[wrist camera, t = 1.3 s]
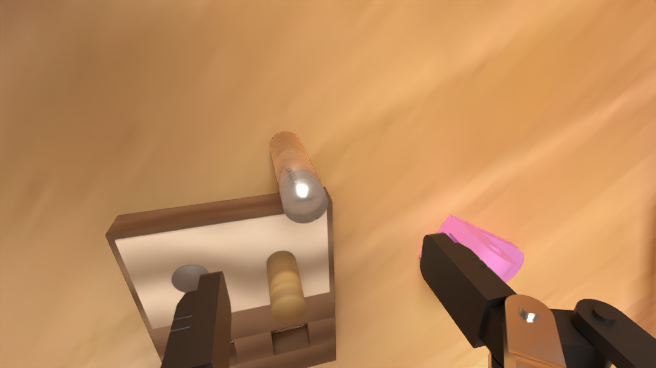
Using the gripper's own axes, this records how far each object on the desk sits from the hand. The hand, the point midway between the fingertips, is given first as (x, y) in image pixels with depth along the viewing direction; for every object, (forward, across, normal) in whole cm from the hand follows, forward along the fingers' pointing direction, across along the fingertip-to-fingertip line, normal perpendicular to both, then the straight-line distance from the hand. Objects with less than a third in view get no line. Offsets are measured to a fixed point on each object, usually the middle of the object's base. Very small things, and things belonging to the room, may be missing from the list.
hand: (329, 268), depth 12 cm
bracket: (+15, -20, +15) cm, 29 cm away
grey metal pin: (+14, 0, 0) cm, 14 cm away
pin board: (+14, +5, +14) cm, 20 cm away
